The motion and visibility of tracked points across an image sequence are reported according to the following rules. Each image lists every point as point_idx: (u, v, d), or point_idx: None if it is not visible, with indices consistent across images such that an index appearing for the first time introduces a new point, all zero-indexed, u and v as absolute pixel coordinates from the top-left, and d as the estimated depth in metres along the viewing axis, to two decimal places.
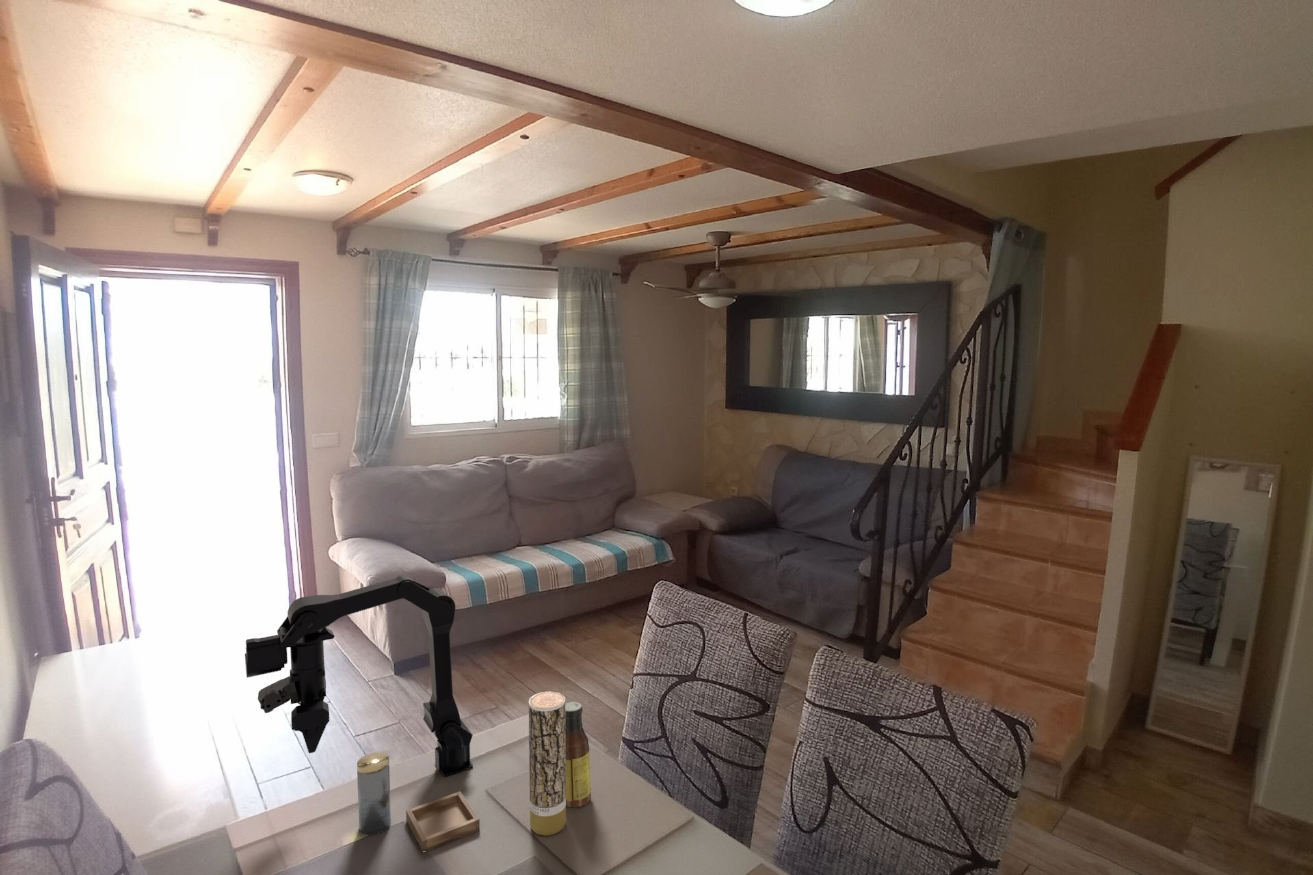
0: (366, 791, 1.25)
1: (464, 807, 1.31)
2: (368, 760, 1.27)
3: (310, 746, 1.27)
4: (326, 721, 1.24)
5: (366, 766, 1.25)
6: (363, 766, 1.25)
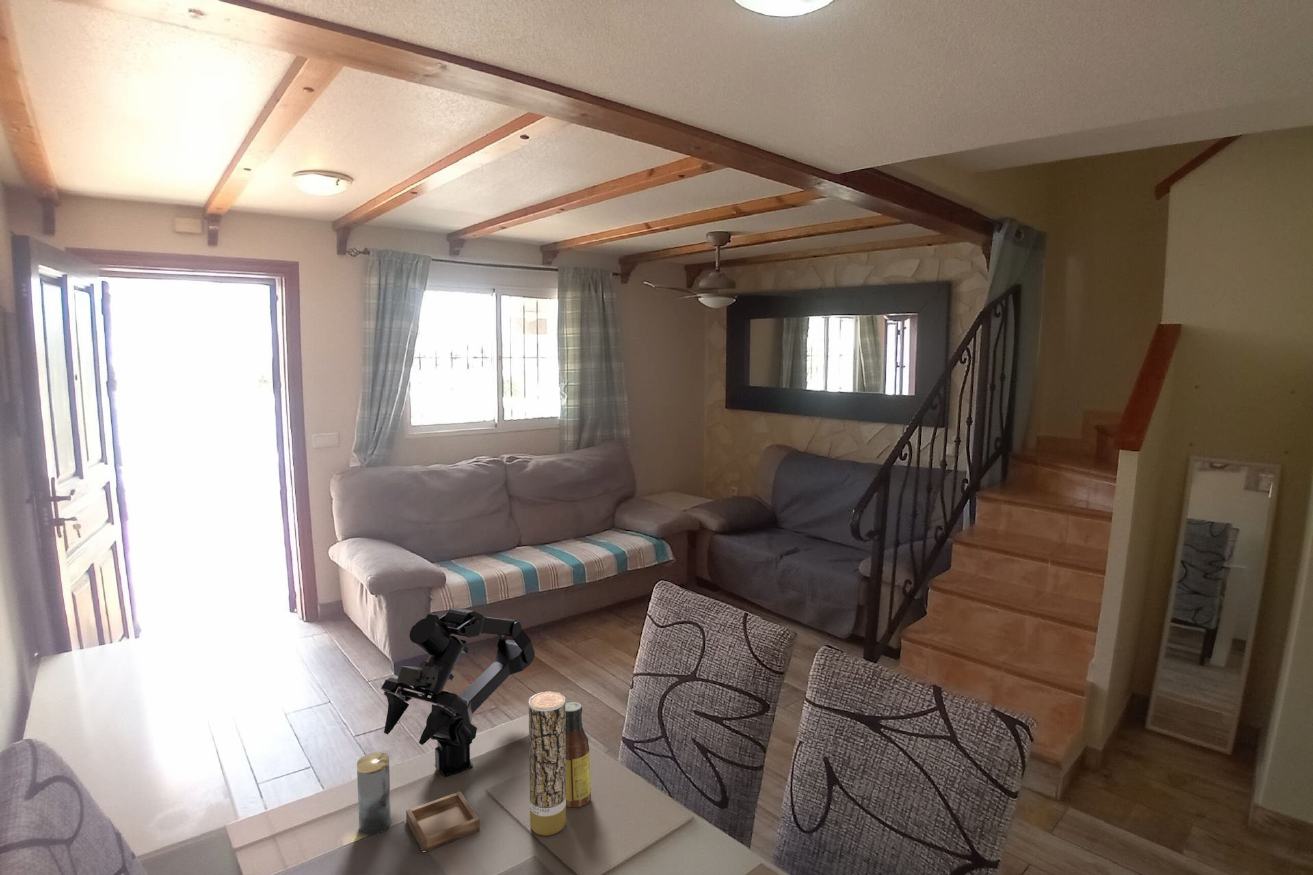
0: (366, 791, 1.25)
1: (464, 807, 1.31)
2: (368, 760, 1.27)
3: (426, 736, 1.32)
4: (463, 714, 1.36)
5: (366, 766, 1.25)
6: (363, 766, 1.25)
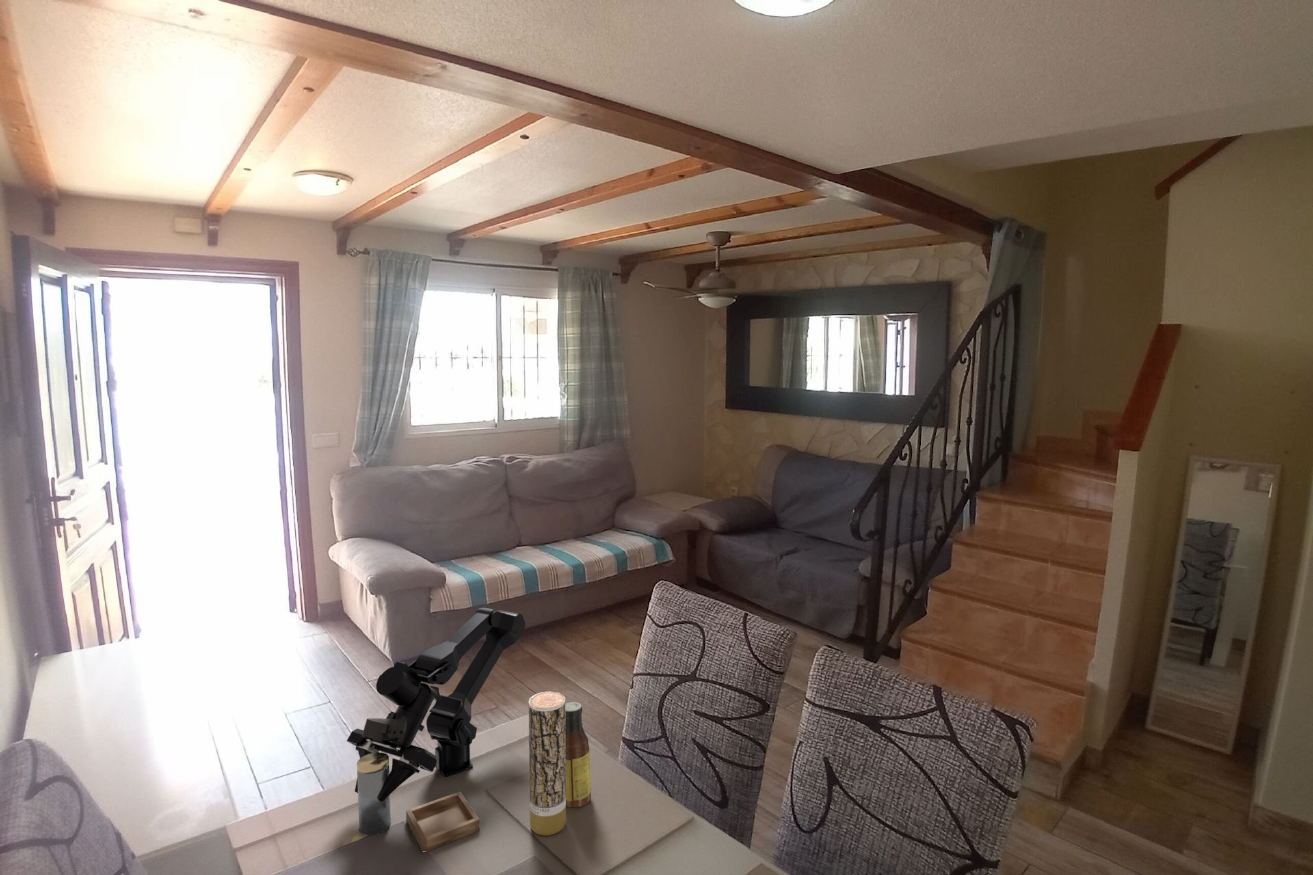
0: (366, 791, 1.25)
1: (464, 807, 1.31)
2: (368, 760, 1.27)
3: (385, 792, 1.26)
4: None
5: (366, 766, 1.25)
6: (363, 766, 1.25)
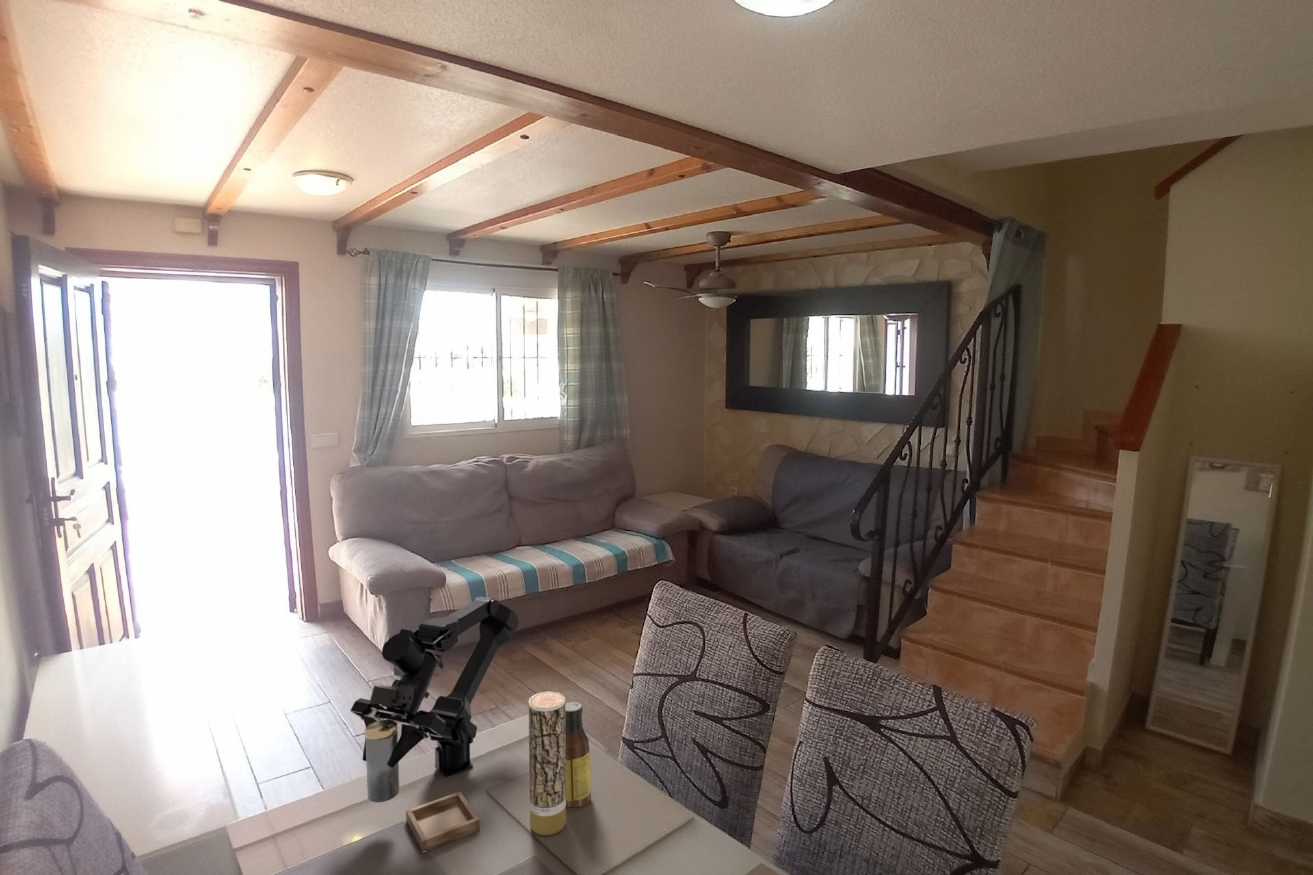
0: (376, 757, 1.24)
1: (464, 807, 1.31)
2: (376, 727, 1.26)
3: (396, 758, 1.25)
4: (442, 734, 1.29)
5: (375, 733, 1.24)
6: (372, 733, 1.24)
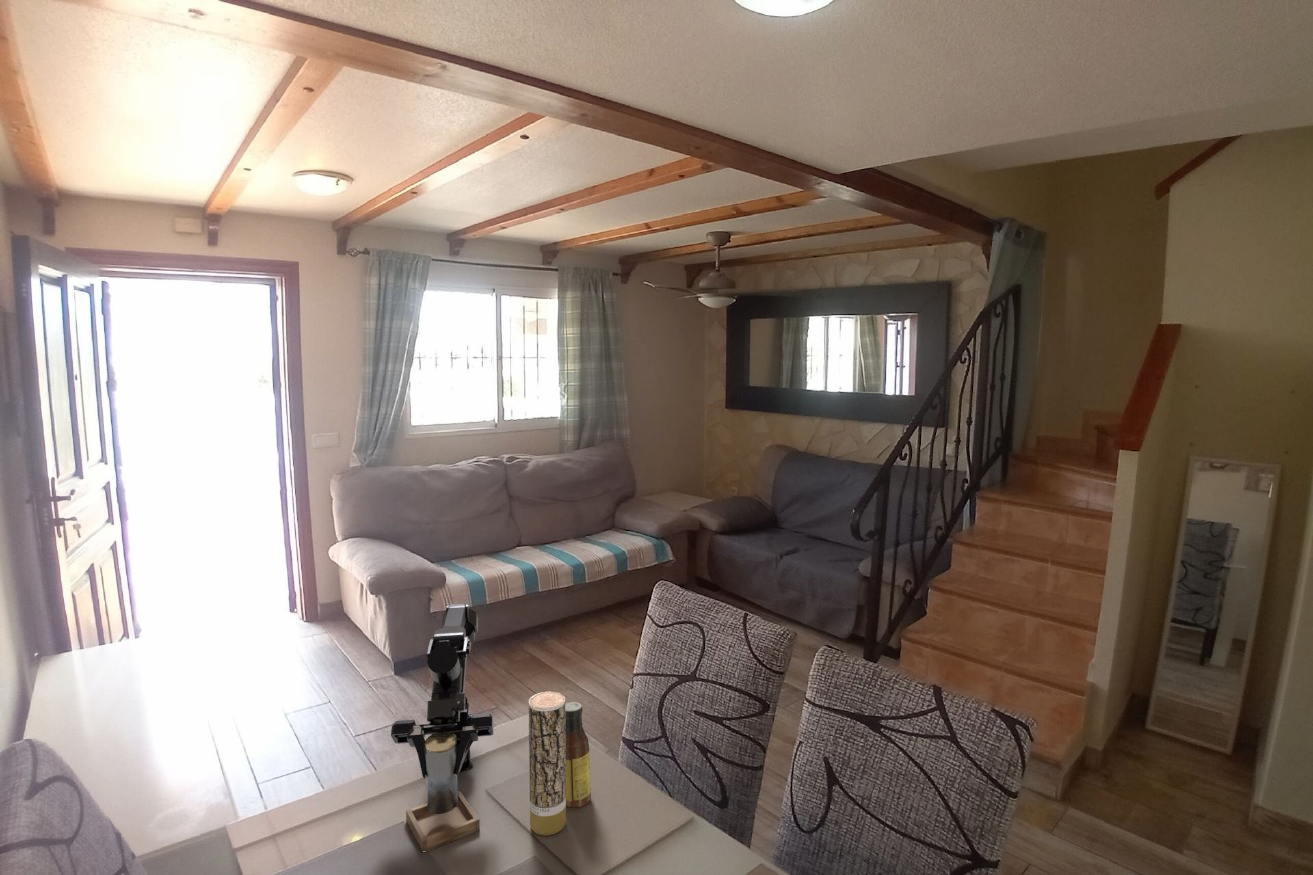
0: (445, 768, 1.25)
1: (464, 807, 1.31)
2: (436, 741, 1.26)
3: (460, 765, 1.27)
4: None
5: (441, 745, 1.25)
6: (439, 746, 1.25)
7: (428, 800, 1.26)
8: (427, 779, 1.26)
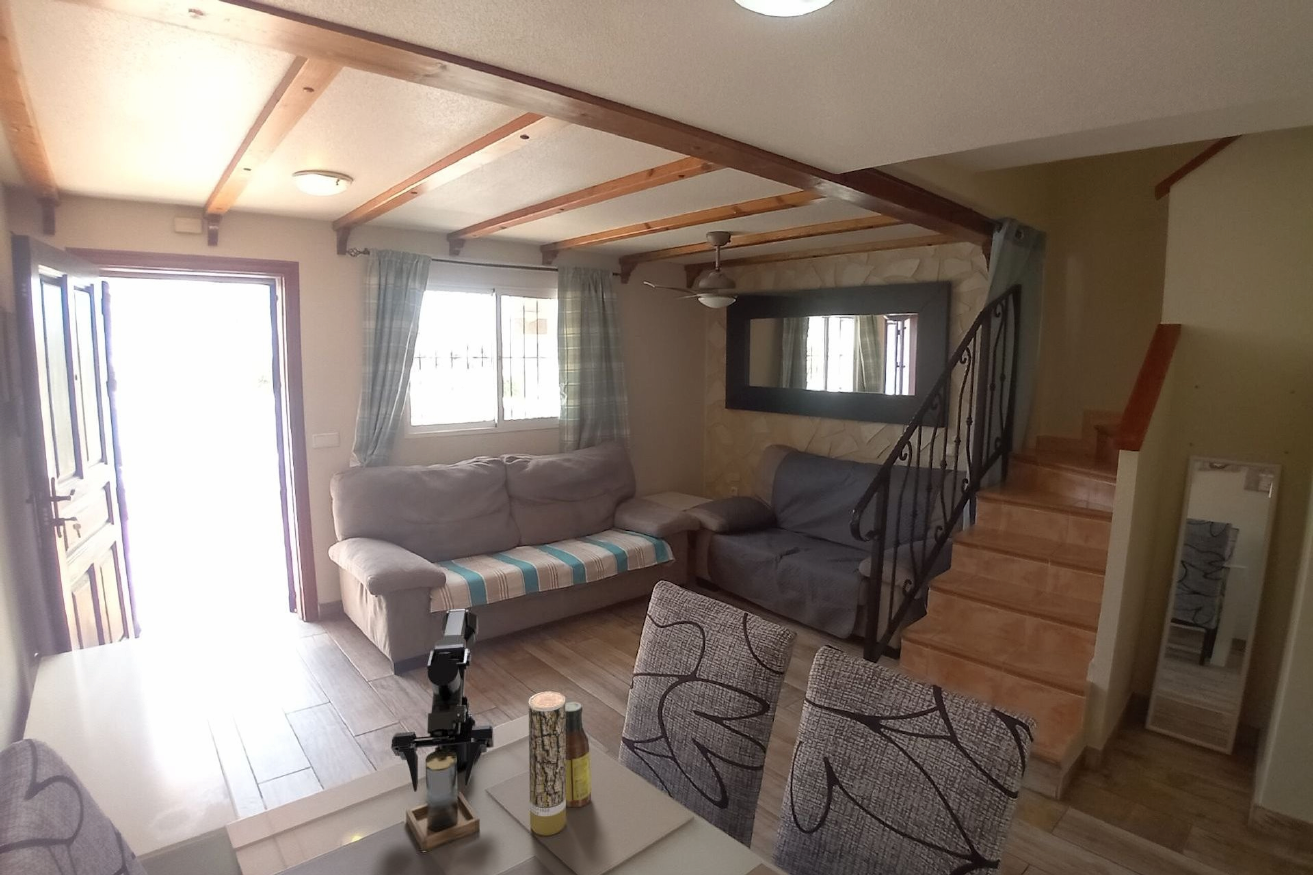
0: (445, 786, 1.25)
1: (464, 807, 1.31)
2: (436, 758, 1.27)
3: (469, 776, 1.28)
4: None
5: (442, 762, 1.25)
6: (439, 763, 1.25)
7: (428, 818, 1.26)
8: (427, 797, 1.26)
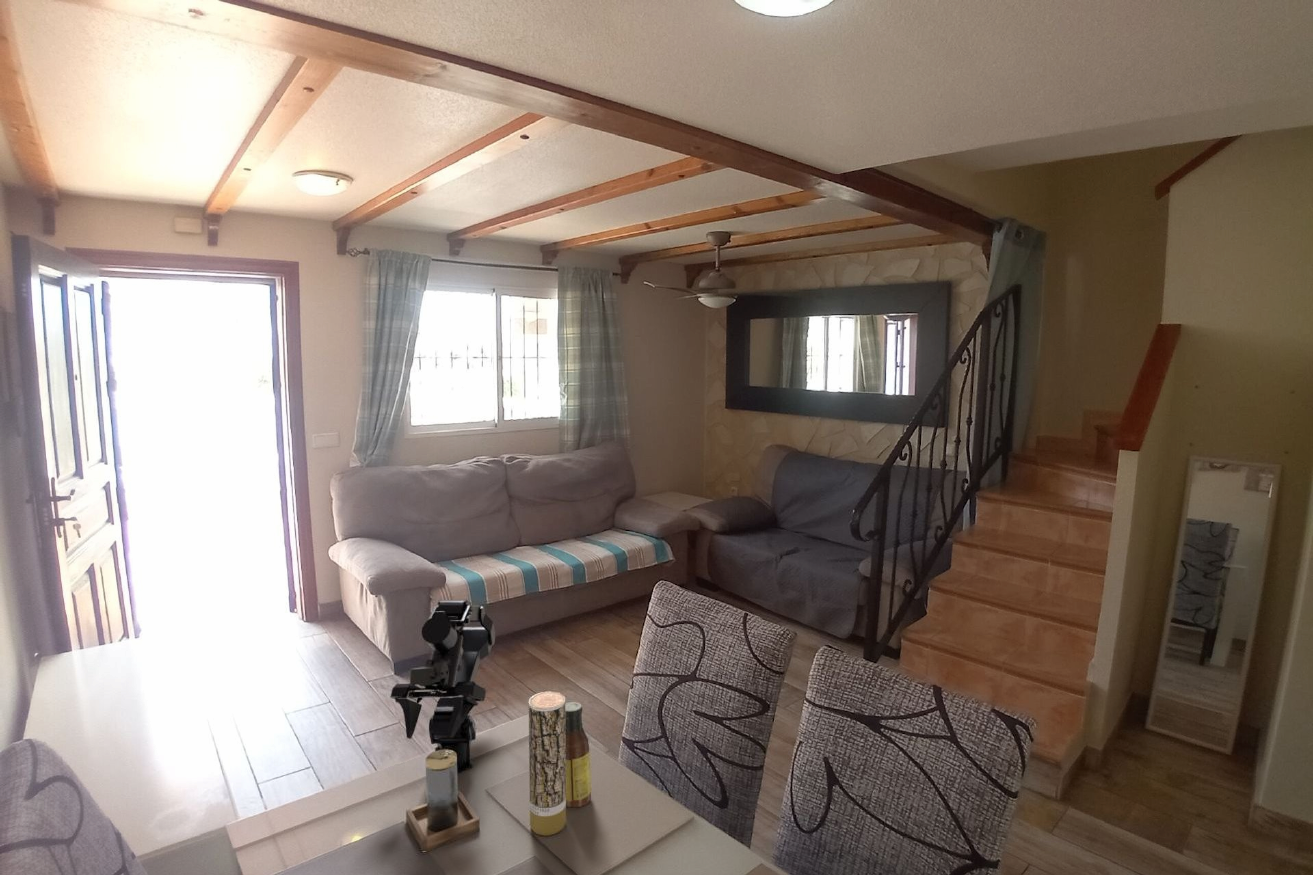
0: (446, 786, 1.25)
1: (464, 807, 1.31)
2: (436, 758, 1.27)
3: (454, 729, 1.32)
4: (484, 699, 1.37)
5: (442, 763, 1.25)
6: (439, 764, 1.25)
7: (428, 818, 1.26)
8: (427, 797, 1.26)
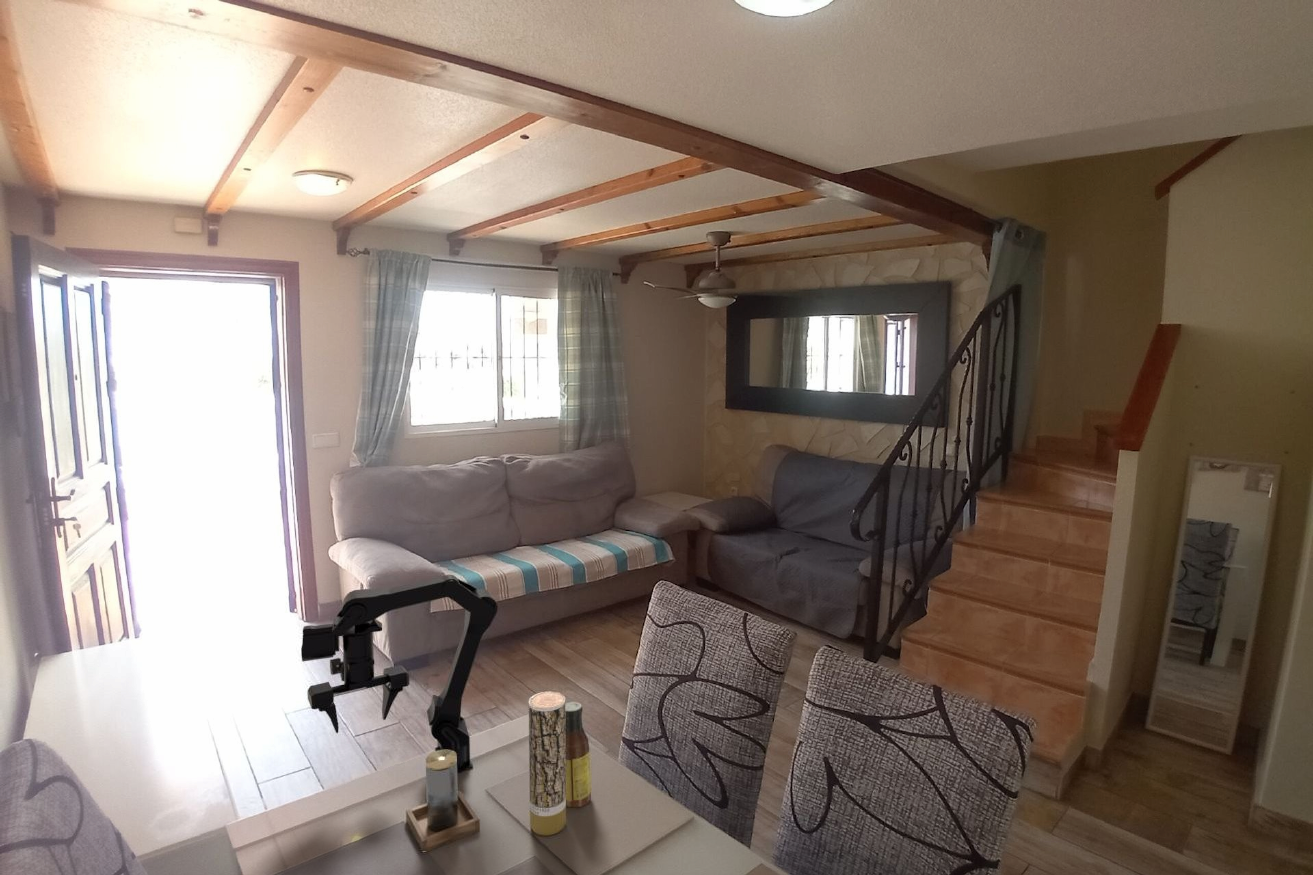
0: (446, 786, 1.25)
1: (464, 807, 1.31)
2: (436, 758, 1.27)
3: (333, 725, 1.37)
4: (312, 707, 1.32)
5: (442, 763, 1.25)
6: (439, 764, 1.25)
7: (428, 818, 1.26)
8: (427, 797, 1.26)
